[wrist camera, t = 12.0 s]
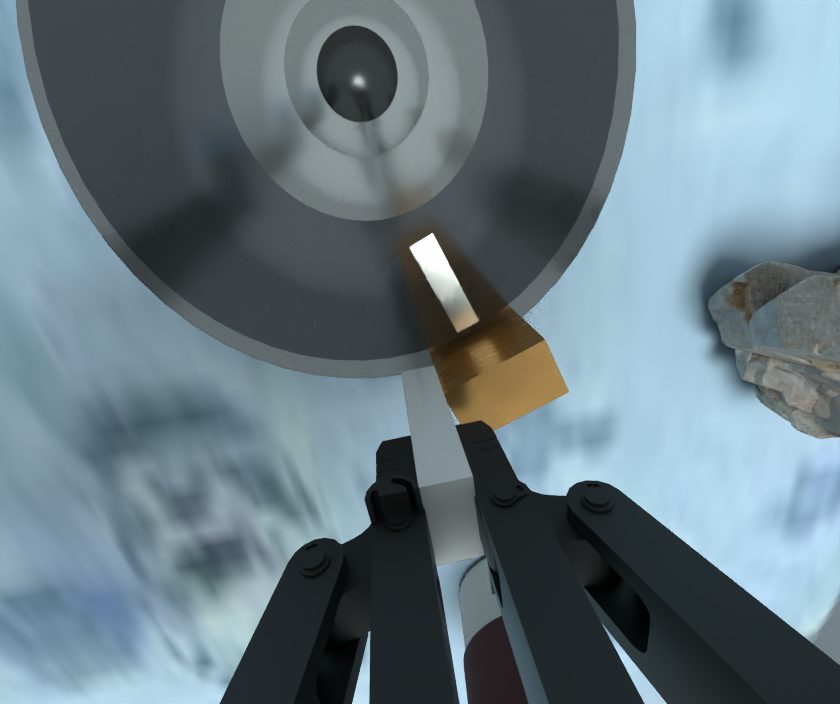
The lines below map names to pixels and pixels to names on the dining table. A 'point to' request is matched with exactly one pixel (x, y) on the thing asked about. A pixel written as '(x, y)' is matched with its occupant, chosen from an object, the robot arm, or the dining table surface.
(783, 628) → the robot arm
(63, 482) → the dining table surface
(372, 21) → the cover
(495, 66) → the turntable
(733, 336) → the rock
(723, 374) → the dining table surface
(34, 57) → the turntable base
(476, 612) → the coffee cup
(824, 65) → the dining table surface
